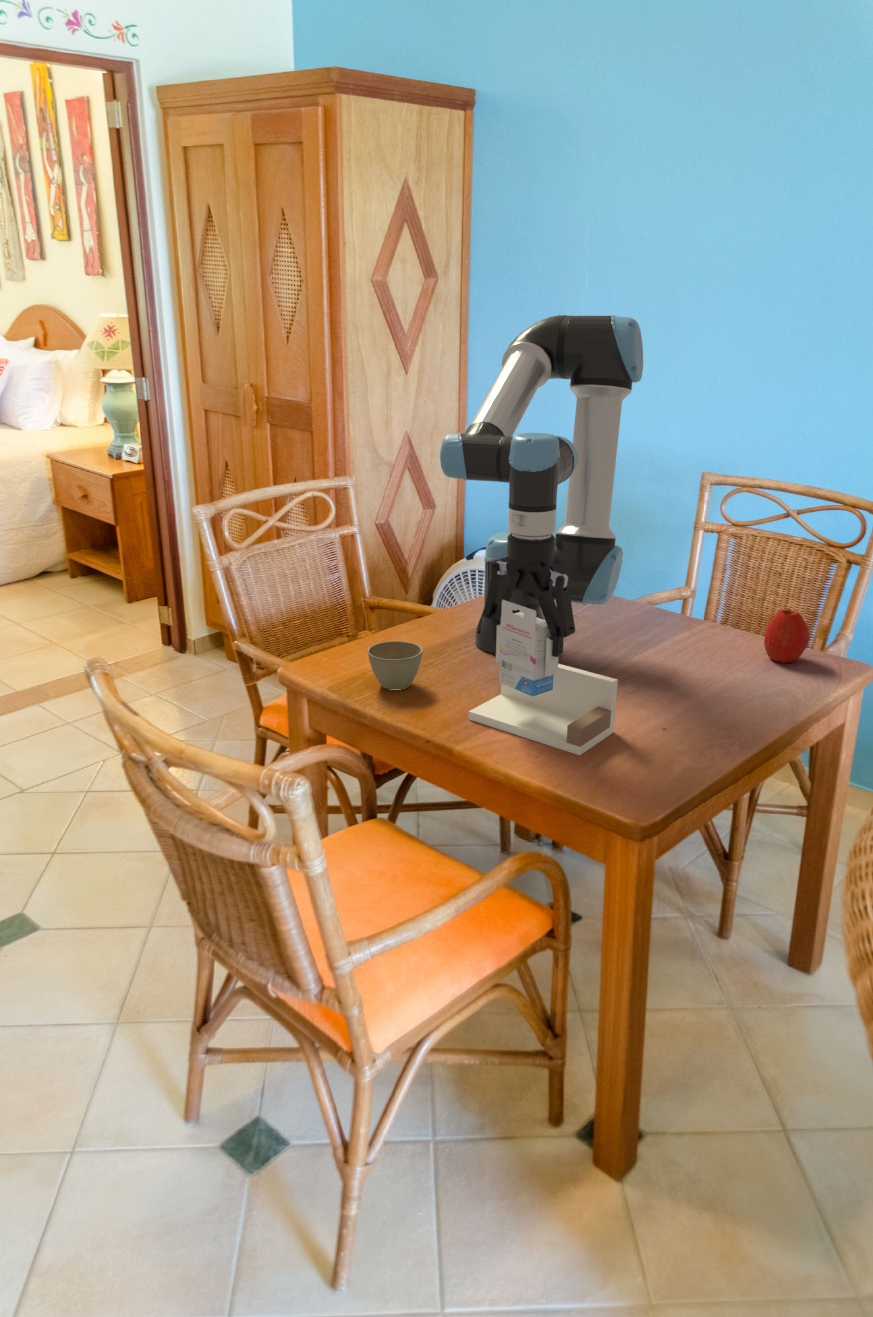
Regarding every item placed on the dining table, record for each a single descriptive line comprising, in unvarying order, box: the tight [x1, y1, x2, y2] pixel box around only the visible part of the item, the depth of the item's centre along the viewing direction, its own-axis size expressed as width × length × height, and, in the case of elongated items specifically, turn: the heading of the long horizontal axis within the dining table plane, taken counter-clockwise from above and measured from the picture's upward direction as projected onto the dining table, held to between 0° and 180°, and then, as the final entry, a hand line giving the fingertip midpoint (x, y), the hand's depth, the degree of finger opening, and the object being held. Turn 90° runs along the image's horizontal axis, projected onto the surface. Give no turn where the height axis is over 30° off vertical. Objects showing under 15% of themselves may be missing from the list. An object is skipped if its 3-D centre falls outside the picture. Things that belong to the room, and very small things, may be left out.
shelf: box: [468, 663, 619, 756], centre depth 170 cm, size 22×11×10 cm, turn 51°
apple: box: [763, 607, 810, 664], centre depth 199 cm, size 8×8×11 cm
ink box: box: [498, 600, 553, 697], centre depth 167 cm, size 8×5×15 cm, turn 39°
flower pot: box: [367, 640, 423, 690], centre depth 187 cm, size 10×10×7 cm
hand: (526, 666), depth 168 cm, fingers closed on ink box, 9 cm apart
